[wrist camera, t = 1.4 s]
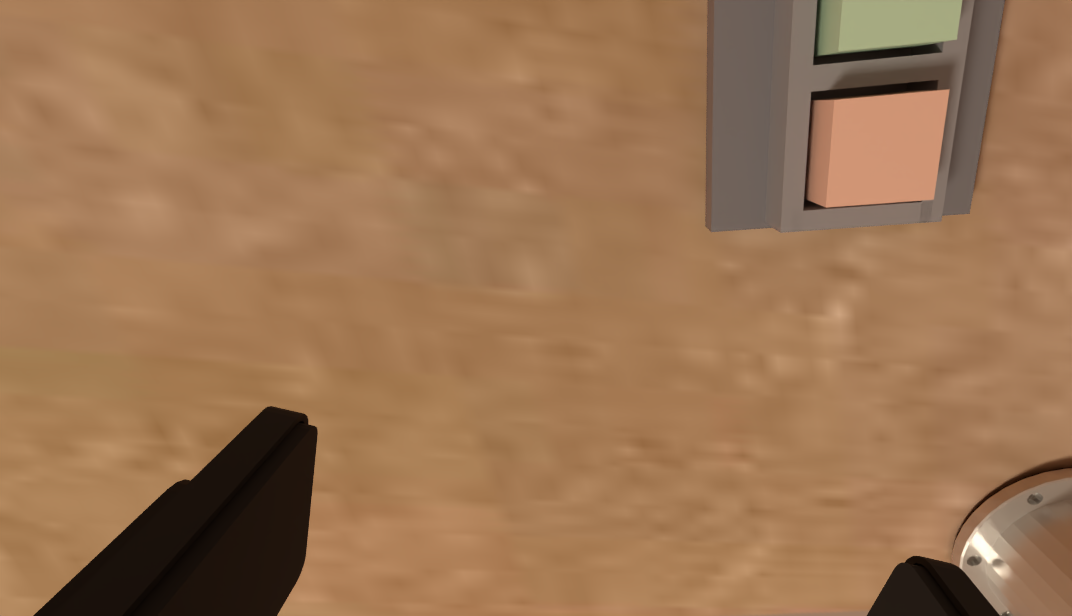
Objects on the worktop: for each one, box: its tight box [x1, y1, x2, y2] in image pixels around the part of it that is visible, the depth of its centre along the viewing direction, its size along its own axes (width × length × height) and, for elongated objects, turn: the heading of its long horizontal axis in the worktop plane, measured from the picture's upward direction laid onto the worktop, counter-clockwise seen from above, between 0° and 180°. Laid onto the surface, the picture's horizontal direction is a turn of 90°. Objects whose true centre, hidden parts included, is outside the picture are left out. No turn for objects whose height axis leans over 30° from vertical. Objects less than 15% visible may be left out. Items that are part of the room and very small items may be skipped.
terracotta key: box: [804, 89, 950, 208], centre depth 26 cm, size 5×5×3 cm
